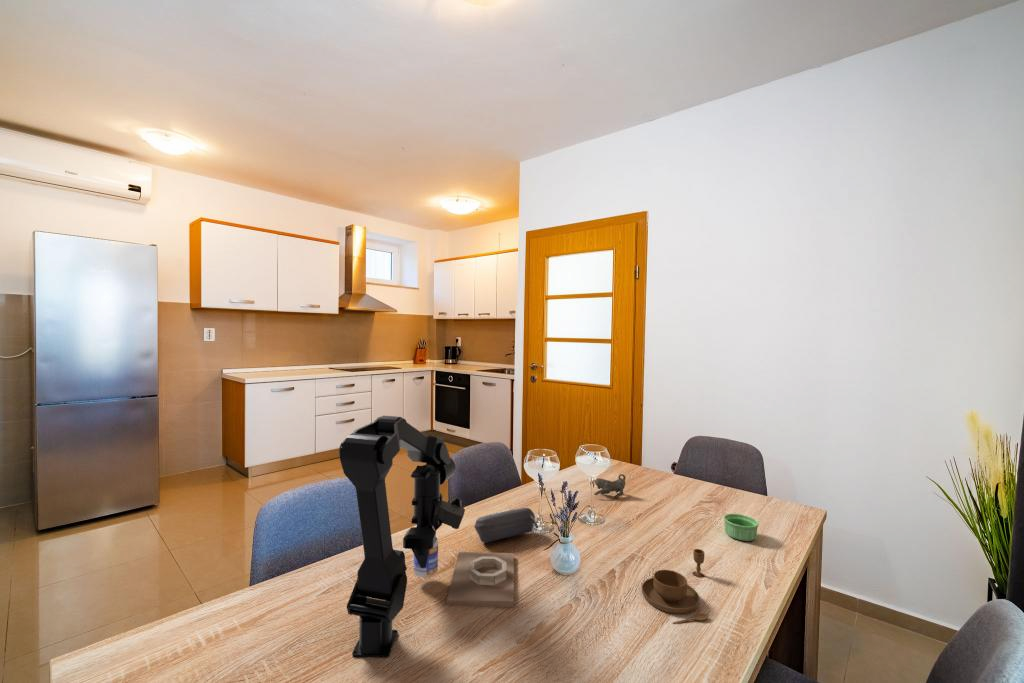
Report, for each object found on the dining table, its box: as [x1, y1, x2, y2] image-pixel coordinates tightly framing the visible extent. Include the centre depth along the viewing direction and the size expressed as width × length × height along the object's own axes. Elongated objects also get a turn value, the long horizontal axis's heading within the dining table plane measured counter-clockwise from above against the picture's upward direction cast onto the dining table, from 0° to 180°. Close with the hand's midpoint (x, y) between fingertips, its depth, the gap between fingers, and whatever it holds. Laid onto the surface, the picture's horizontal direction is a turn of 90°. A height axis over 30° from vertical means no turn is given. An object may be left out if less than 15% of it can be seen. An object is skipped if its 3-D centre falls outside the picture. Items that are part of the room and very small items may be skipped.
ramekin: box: [723, 513, 760, 542], centre depth 127 cm, size 9×9×4 cm
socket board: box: [446, 551, 515, 608], centre depth 102 cm, size 20×14×3 cm
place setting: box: [641, 548, 709, 625], centre depth 97 cm, size 18×20×6 cm
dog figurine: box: [593, 473, 626, 499], centre depth 156 cm, size 12×6×7 cm, turn 98°
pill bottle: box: [413, 527, 439, 579], centre depth 100 cm, size 5×5×10 cm
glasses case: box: [474, 507, 539, 543], centre depth 121 cm, size 18×10×8 cm, turn 118°
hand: (425, 560), depth 100 cm, fingers closed on pill bottle, 5 cm apart
